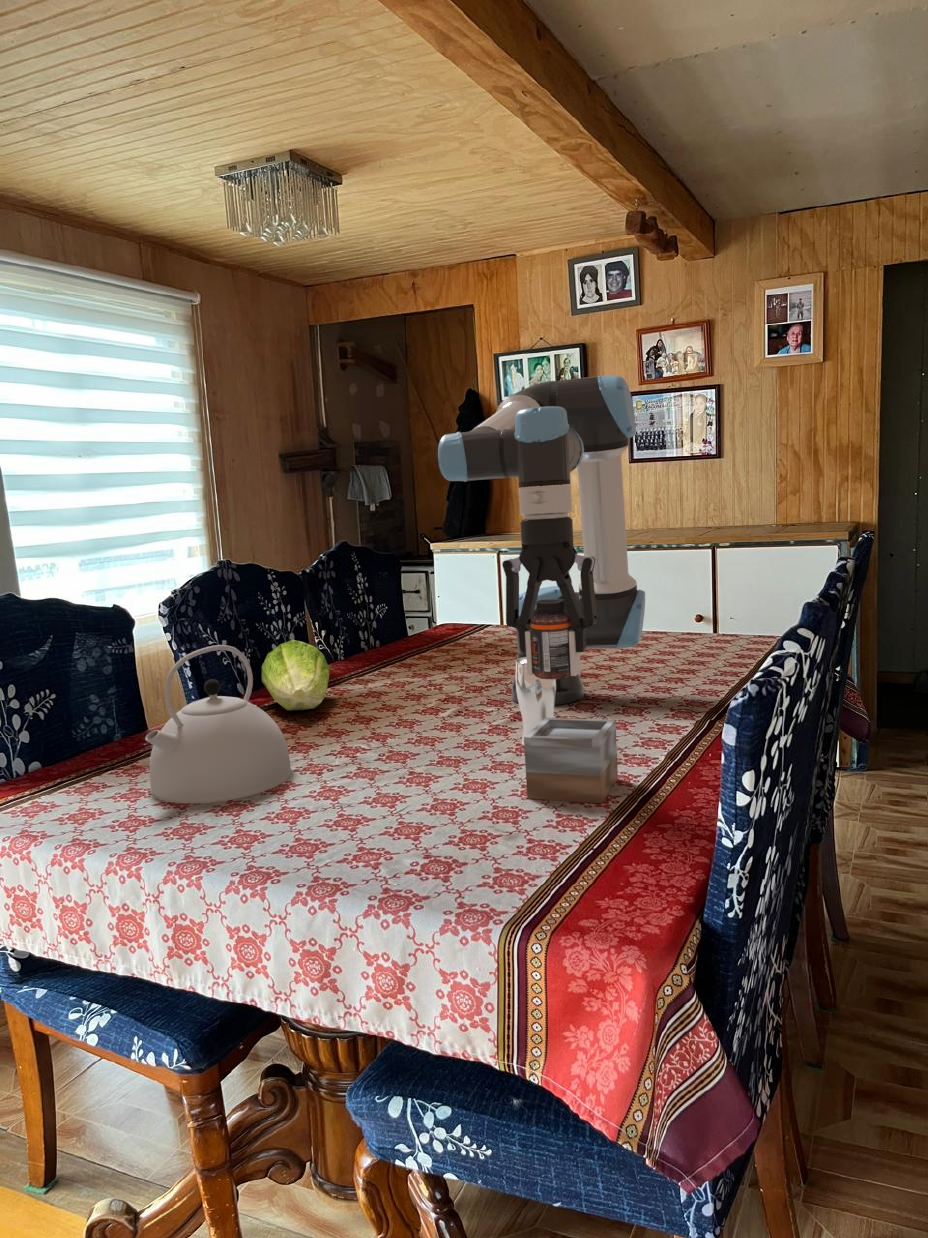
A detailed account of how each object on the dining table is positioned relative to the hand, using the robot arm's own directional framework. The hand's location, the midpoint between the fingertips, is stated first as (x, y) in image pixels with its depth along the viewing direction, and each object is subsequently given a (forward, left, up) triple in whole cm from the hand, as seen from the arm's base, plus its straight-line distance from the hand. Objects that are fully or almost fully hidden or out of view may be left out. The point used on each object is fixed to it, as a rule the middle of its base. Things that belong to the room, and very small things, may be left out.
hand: (553, 673), depth 138 cm
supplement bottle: (0, 0, -1) cm, 1 cm away
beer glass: (-21, -10, -18) cm, 29 cm away
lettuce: (-38, -69, -18) cm, 81 cm away
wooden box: (+1, +2, -17) cm, 18 cm away
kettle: (+8, -56, -18) cm, 60 cm away
